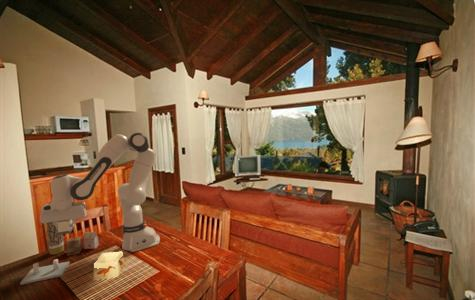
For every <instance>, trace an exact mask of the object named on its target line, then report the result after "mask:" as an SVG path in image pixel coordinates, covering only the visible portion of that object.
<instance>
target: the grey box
mask: <svg viewBox="0 0 475 300" xmlns="http://www.w3.org/2000/svg"><path fill="white" fill-rule="evenodd" d="M83 233H84V234H83V237H82V239H83V240H82V244H83V250H93V249H94V250H95V249H97V248H98V246H99V237H98V234H97V232H96V231H87V232H86V231H85V232H83Z"/></svg>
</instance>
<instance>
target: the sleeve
mask: <svg viewBox="0 0 475 300" xmlns="http://www.w3.org/2000/svg"><path fill="white" fill-rule="evenodd" d="M71 223H73V221H72V220H65V221H59V222H58V223H57V225H58V235H62V234H63V235H67V234H71V232H72V231H73V228H74V227H70V224H71Z"/></svg>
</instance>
